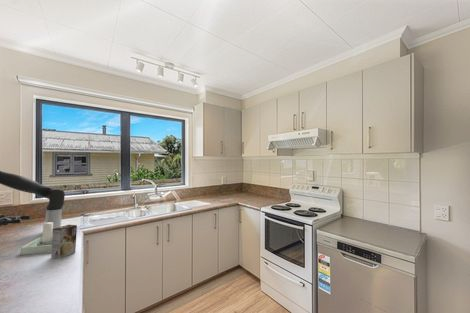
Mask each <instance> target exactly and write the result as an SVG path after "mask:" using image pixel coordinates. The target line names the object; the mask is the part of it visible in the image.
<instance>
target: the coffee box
mask: <svg viewBox="0 0 470 313" xmlns="http://www.w3.org/2000/svg"><path fill="white" fill-rule="evenodd" d="M77 226H78V225H77V224H66V225H61V227H58V228H54V229H53V233H52V236H53V237H52V251H51V252H50V258H51V257H52V259H59V260H60V259H63V258H65V257H67V256H70V255H72V254H74V253H76V247H77V246H76V245H77V231H78V227H77Z"/></svg>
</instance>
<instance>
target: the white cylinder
mask: <svg viewBox="0 0 470 313" xmlns="http://www.w3.org/2000/svg"><path fill="white" fill-rule="evenodd" d="M42 226H43V227H42V236H41V237H42V244H47V243H51V242H52V236H53V233H52V232H53V222H48V223H45V222H44V223H43V225H42Z"/></svg>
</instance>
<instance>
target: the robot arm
mask: <svg viewBox="0 0 470 313" xmlns="http://www.w3.org/2000/svg"><path fill="white" fill-rule="evenodd" d="M0 184H1V185H2V186H5V187H8V188H10V189H13V190H17V191H20V192H24V193H28V194H33V195H37V196H40V197H43V198H45V199H47V200H48V201H49V202H48V204H47V206H46V207H45V208H46V209H45V210H46V211H45V219H44V220H45V221H44V223H48V222H53V229H54V228H58V227H62V216H63V215H62V214H63V207H64V204H65V197H66V193H65V191H64V190H63V189H61V188H57V187H51V186H47V185H43V184H41V183H40V182H38V181H35V180H33V179H32V178H29V177H26V176H24V175H20V174H19V175H18V174H16V173H15V174H14V173H10V172H6V171H2V170H0ZM30 219H31V215H24V214H17V215H9V216H8V215H7V216H5V214H3V213H0V227H2V226H8V225H12V224H13V225H14V224H21V221H23V220H24V221H25V220H30ZM52 234H53V232H52Z"/></svg>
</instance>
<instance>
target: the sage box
mask: <svg viewBox="0 0 470 313" xmlns="http://www.w3.org/2000/svg"><path fill="white" fill-rule="evenodd" d="M52 237H53V235H52ZM19 251H20V253H19V255H32V254H35V253H36V254H46V253H51V251H52V242H51V243H47V244H42V236H41V237H38V238H36V239H34V240H33V241H31V242H29V243H27V244H25V245H23V246H21V247H20V250H19Z"/></svg>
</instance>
